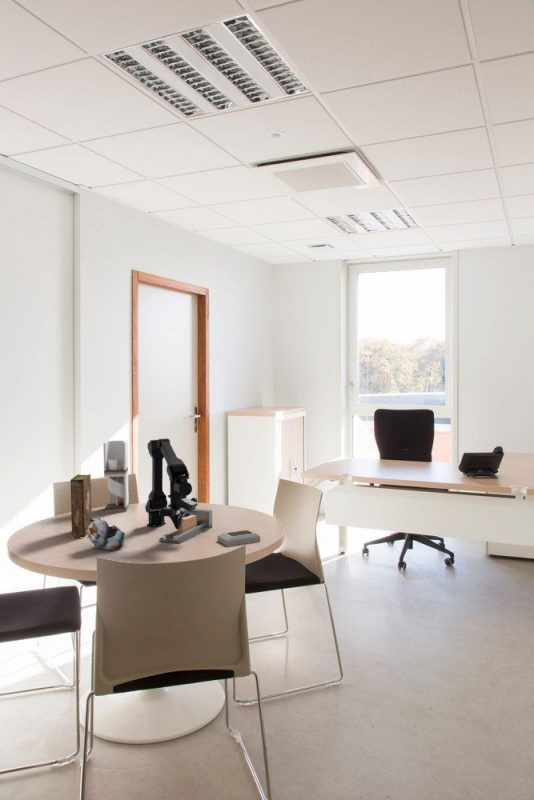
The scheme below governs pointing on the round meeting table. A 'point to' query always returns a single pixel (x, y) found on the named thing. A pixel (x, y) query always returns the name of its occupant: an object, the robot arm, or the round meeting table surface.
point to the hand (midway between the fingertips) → (177, 529)
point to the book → (80, 505)
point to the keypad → (238, 537)
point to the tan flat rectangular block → (187, 523)
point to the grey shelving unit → (116, 474)
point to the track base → (202, 525)
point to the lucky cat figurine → (105, 535)
